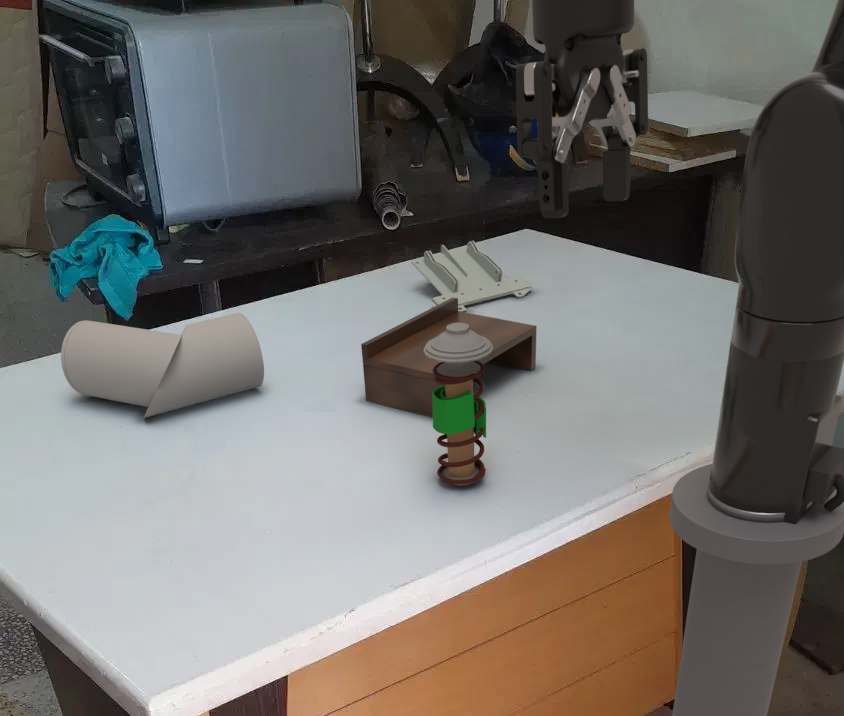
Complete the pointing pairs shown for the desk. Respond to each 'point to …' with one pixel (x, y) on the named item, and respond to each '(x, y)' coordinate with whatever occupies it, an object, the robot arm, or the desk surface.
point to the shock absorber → (459, 401)
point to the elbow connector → (163, 362)
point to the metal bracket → (468, 276)
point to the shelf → (413, 371)
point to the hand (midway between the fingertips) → (586, 208)
